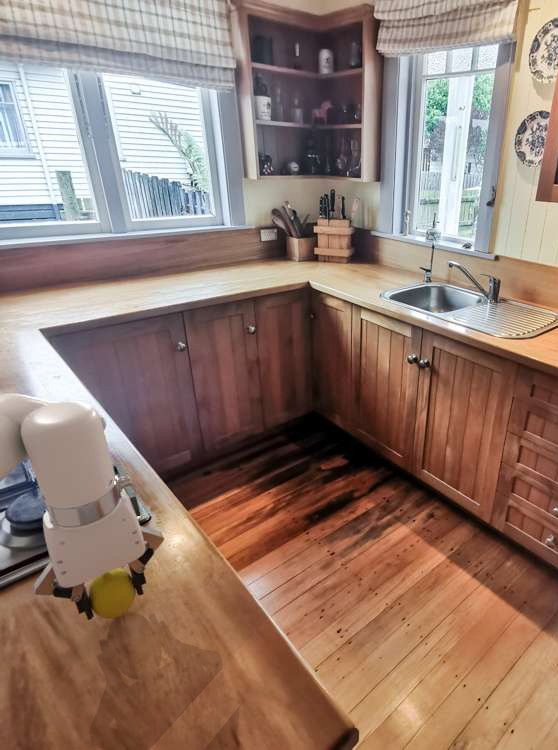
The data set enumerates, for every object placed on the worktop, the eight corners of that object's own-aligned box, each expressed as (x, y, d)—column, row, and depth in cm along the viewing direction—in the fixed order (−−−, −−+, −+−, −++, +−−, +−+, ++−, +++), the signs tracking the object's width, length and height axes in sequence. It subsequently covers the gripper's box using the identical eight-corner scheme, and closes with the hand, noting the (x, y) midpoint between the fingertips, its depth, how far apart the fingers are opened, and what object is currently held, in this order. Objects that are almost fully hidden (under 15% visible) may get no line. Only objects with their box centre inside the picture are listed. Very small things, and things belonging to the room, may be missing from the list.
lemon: (124, 589, 69) (113, 550, 66) (148, 607, 67) (138, 568, 63) (87, 618, 65) (73, 578, 61) (111, 638, 62) (98, 598, 59)
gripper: (150, 459, 64) (170, 553, 72) (-6, 509, 54) (37, 612, 62) (167, 489, 59) (186, 587, 67) (-3, 550, 49) (44, 657, 57)
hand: (114, 598), depth 64 cm, fingers closed on lemon, 5 cm apart
